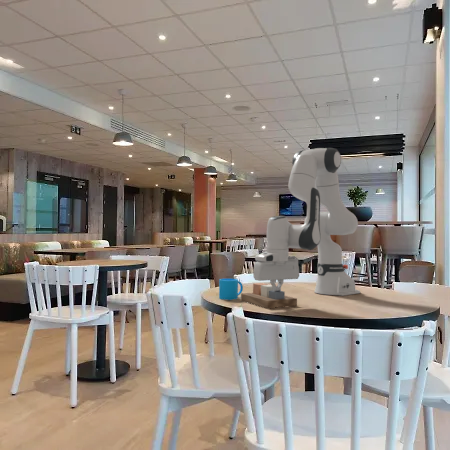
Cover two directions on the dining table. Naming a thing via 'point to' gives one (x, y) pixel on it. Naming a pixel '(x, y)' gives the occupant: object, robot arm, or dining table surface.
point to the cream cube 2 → (266, 290)
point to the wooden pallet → (268, 301)
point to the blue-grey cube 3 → (276, 295)
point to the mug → (229, 289)
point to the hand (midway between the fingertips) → (276, 291)
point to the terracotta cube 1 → (257, 288)
